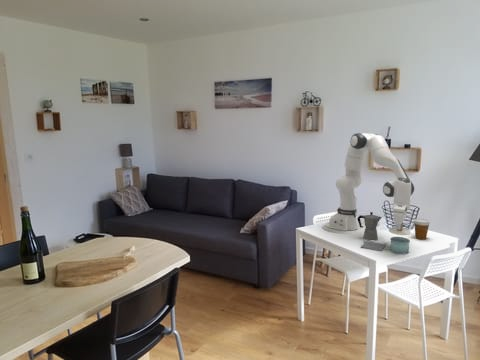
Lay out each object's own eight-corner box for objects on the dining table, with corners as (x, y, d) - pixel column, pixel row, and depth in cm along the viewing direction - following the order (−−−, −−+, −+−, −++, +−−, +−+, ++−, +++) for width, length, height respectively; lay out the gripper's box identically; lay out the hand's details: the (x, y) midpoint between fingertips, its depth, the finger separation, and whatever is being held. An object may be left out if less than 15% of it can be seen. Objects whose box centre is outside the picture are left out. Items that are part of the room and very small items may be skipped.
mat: (360, 247, 218) (360, 246, 218) (365, 241, 228) (365, 241, 228) (381, 251, 212) (381, 250, 211) (385, 245, 221) (385, 244, 221)
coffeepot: (379, 236, 238) (380, 210, 235) (382, 241, 229) (383, 214, 226) (355, 235, 240) (356, 210, 237) (357, 240, 231) (358, 213, 228)
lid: (387, 232, 208) (387, 224, 207) (390, 227, 218) (391, 219, 217) (408, 236, 202) (409, 228, 201) (411, 230, 212) (412, 222, 211)
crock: (388, 252, 210) (388, 240, 209) (391, 246, 219) (392, 235, 218) (407, 255, 204) (408, 243, 203) (410, 249, 213) (411, 238, 212)
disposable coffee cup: (425, 235, 237) (426, 218, 235) (431, 240, 228) (432, 222, 226) (410, 235, 238) (411, 218, 236) (415, 240, 229) (417, 222, 227)
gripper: (398, 201, 217) (397, 222, 220) (392, 208, 200) (390, 232, 203) (410, 202, 214) (408, 224, 216) (404, 210, 197) (402, 234, 200)
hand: (399, 228), depth 210 cm, fingers closed on lid, 3 cm apart
